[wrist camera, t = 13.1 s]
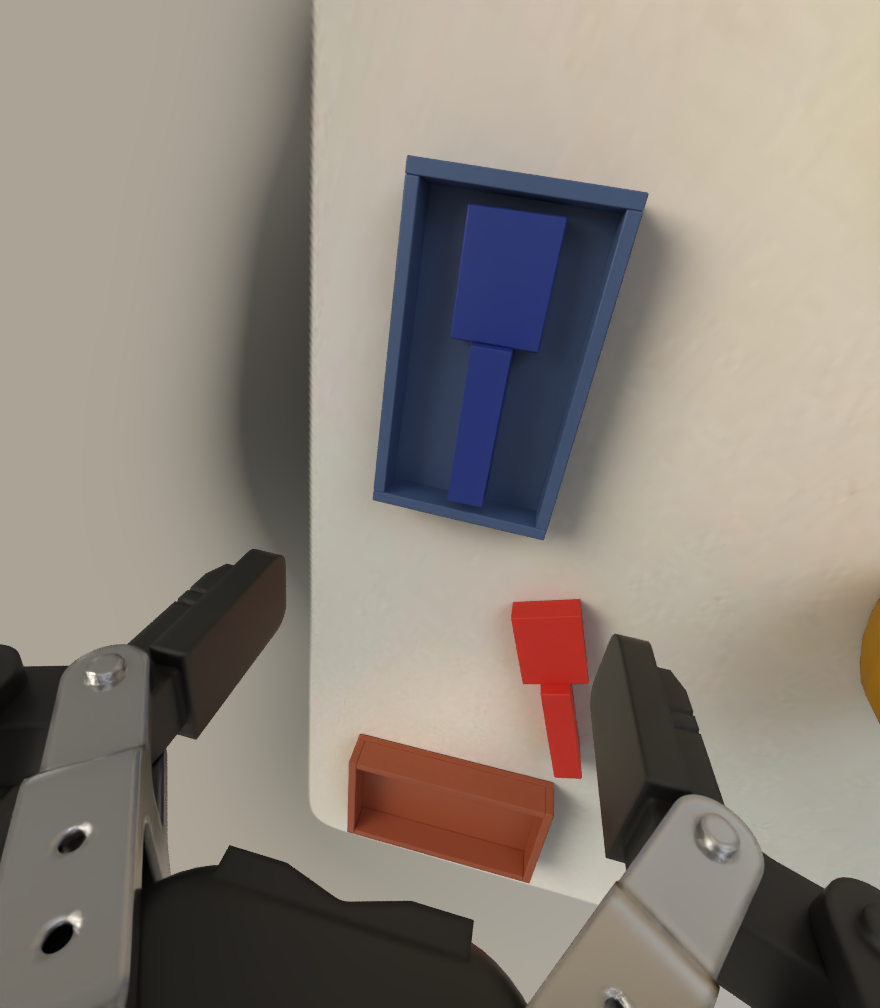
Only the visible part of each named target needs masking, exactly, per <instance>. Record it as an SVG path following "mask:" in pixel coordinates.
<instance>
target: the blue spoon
mask: <svg viewBox="0 0 880 1008" xmlns="http://www.w3.org/2000/svg"><path fill="white" fill-rule="evenodd" d="M567 221H568V218H567V217H564V216H556V215H549V214H542V213H534V212H527V211H520V210H512V209H505V208H498V207H490V206H483V205H476V204H468V207H467V214H466V222H465V229H464V237H463V244H462V252H461V259H460V266H459V274H458V281H457V289H456V296H455V304H454V311H453V318H452V326H451V333H450V338H452V339H458V340H464V341H470V342H474V343H473V344H472V346H471V349H470V356H469V362H468V369H467V375H466V381H465V388H464V394H463V401H462V407H461V414H460V420H459V426H458V433H457V439H456V446H455V452H454V459H453V465H452V472H451V478H450V484H449V491H448V497H447V500H450V501H454V502H459V503H464V504H469V505H473V506H478V507H482V506H483V502H484V498H485V495H486V491H487V487H488V482H489V477H490V472H491V467H492V462H493V457H494V452H495V447H496V442H497V437H498V431H499V426H500V421H501V416H502V411H503V406H504V401H505V396H506V391H507V386H508V381H509V376H510V370H511V365H512V360H513V355H514V350H515V349H516V350H522V351H528V352H534V353H538V352H539V348H540V344H541V339H542V335H543V330H544V326H545V321H546V316H547V312H548V307H549V303H550V298H551V294H552V289H553V285H554V280H555V276H556V271H557V266H558V262H559V257H560V253H561V248H562V244H563V239H564V235H565V230H566V226H567Z"/></svg>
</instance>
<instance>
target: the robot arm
mask: <svg viewBox="0 0 880 1008" xmlns="http://www.w3.org/2000/svg"><path fill="white" fill-rule="evenodd" d="M285 610H286V563H285V558H284V557H283V556H282V555H278V554H274V553H270V552H265V551H261V550H257V549H252V550H250V551H249V552H247V553H246V554H245V555H244V556H243V557H242V558H241V559H240V560H239V561H238V562H237V563H236V564H235V565H230V564H225V565H223V566H221V567H219V568H217V569H215V570H212V571H210V572H208V573H206V574H205V575H204V576H203V577H202V578H200V579H199V580H198V581H197V582H196V583H195V584H194V585H193V586H192V587H191V589H190V590H187V591H186V592H185V593H184V594H183V595H182V596H180V597H179V598H178V601H177V602H174V603H173V604H171V605H170V606H169V607H168V608H167V609H166V610H165V611H164V612H163V613H161V614H160V615H159V616H158V617H157V618H156V619H155V620H154V621H153V622H151V623H150V625H148V626H147V627H146V628H145V629H144V630H143V631H141V632H140V633H139V634H138V635H137V636H136V637H135V638H134V639H133V640H131V641H130V642H129V643H128V644H127V645H126V644H119V645H110V646H106V647H102V648H99V649H96V650H93V651H91V652H89V653H87V654H85V655H83V656H81V657H80V658H78V659H77V660H75V661H74V662H73V663H72V664H71V665H70V666H31V667H30V666H29V667H24V666H23V664H22V661H21V658H20V655H19V653H18V651H17V650H16V649H14V648H12V647H10V646H6V645H0V1008H714V1005H715V1003H716V1000H717V997H718V994H719V989H720V987H719V985H720V986H721V987H723V988H724V989H726V990H727V991H729V992H730V993H732V994H733V995H734V996H736V997H737V998H739V999H740V1000H742V1001H743V1002H745V1003H746V1004H747V1005H749V1006H750V1007H751V1008H880V890H879V889H877V888H875V887H873V886H871V885H870V884H868V883H865V882H863V881H860V880H857V879H853V878H845V877H842V878H837V879H835V880H833V881H832V882H831V883H830V884H829V885H828V886H827V887H826V888H825V889H824V888H822V887H821V886H819V885H817V884H815V883H813V882H812V881H810V880H808V879H806V878H805V877H803V876H801V875H799V874H798V873H796V872H794V871H792V870H790V869H789V868H787V867H785V866H783V865H782V864H780V863H778V862H776V861H775V860H773V859H772V858H770V857H769V856H767V855H766V854H765V853H763V852H762V851H761V848H760V846H759V844H758V842H757V839H756V838H755V836H754V835H753V833H752V832H751V830H750V829H749V828H748V826H747V825H746V824H745V823H744V822H743V821H742V820H741V819H740V818H739V817H738V816H737V815H736V814H735V813H734V812H733V811H731V810H730V809H729V808H727V807H726V806H725V805H724V802H723V799H722V796H721V793H720V790H719V787H718V784H717V781H716V778H715V775H714V772H713V769H712V766H711V763H710V760H709V757H708V754H707V751H706V748H705V745H704V743H703V740H702V737H701V734H699V728H698V725H697V722H696V719H695V716H693V710H692V707H691V704H690V701H689V698H688V695H687V692H686V690H685V689H684V687H683V686H682V685H681V683H680V682H679V681H678V680H677V678H676V677H675V676H674V674H673V673H672V672H671V670H667V669H663V668H659V667H657V664H656V661H655V657H654V654H653V650H652V647H651V644H650V643H649V642H648V641H644V640H640V639H635V638H631V637H627V636H623V635H618V634H614V635H613V636H612V637H611V639H610V641H609V644H608V646H607V649H606V651H605V654H604V656H603V659H602V662H601V664H600V667H599V669H598V672H597V674H596V677H595V680H594V682H593V686H592V691H591V699H590V710H591V720H592V730H593V739H594V749H595V758H596V768H597V778H598V787H599V797H600V807H601V816H602V826H603V836H604V845H605V855H606V858H609V859H612V860H616V861H619V862H623V863H625V865H626V872H625V873H624V875H623V876H622V877H621V879H620V880H619V881H616V882H615V884H614V885H613V886H612V887H611V889H610V890H609V891H608V893H607V894H606V896H605V897H604V898H603V900H602V901H601V903H600V904H599V905H598V907H597V908H596V910H595V911H594V912H593V914H592V915H591V917H590V918H589V919H588V921H587V922H586V924H585V925H584V926H583V928H582V929H581V931H580V932H579V933H578V935H577V936H576V937H575V939H574V940H573V942H572V943H571V944H570V946H569V947H568V949H567V950H566V951H565V953H564V954H563V956H562V957H561V958H560V960H559V961H558V963H557V964H556V965H555V967H554V968H553V970H552V971H551V972H550V974H549V975H548V977H547V978H546V979H545V981H544V982H543V984H542V985H541V986H540V988H539V989H538V991H537V992H536V993H535V995H534V996H533V998H532V999H531V1001H530V1002H529V1003H528V1005H527V1003H526V1002H525V1000H524V998H523V996H522V995H521V993H520V992H519V990H518V989H517V988H516V986H515V985H514V983H513V982H512V981H511V979H510V978H509V977H508V975H507V974H506V973H505V972H504V971H503V970H502V969H501V967H499V965H498V964H497V963H496V962H495V961H494V960H493V959H492V958H491V957H489V956H488V955H487V954H486V953H485V952H484V951H483V950H481V949H480V948H478V947H477V946H476V945H474V944H473V943H471V941H472V932H473V922H474V921H473V920H472V919H468V918H465V917H462V916H459V915H455V914H452V913H449V912H445V911H442V910H439V909H436V908H432V907H429V906H426V905H423V904H419V903H416V902H413V901H370V902H369V901H366V902H365V901H364V902H346V901H342V900H339V899H337V898H335V897H334V896H333V895H331V894H330V893H328V892H327V891H326V890H324V889H323V888H321V887H320V886H319V885H317V884H316V883H314V882H313V881H311V880H310V879H309V878H307V877H306V876H305V875H303V874H302V873H300V872H299V871H298V870H296V869H295V868H293V867H292V866H291V865H289V864H288V863H285V862H283V861H279V860H276V859H273V858H270V857H266V856H263V855H260V854H256V853H253V852H250V851H247V850H243V849H240V848H237V847H234V846H230V845H229V847H228V849H227V851H226V852H225V854H224V856H223V858H222V860H221V861H220V863H219V865H212V866H205V867H199V868H193V869H190V870H186V871H182V872H179V873H176V874H174V875H171V874H170V862H169V854H168V836H167V750H166V748H167V746H168V745H169V744H170V743H171V741H172V740H173V739H174V737H175V736H176V735H177V734H178V735H182V736H185V737H189V738H192V739H197V738H198V737H199V735H200V734H201V732H202V731H203V730H204V729H205V727H206V726H207V725H208V723H209V722H210V720H211V719H212V718H213V716H214V715H215V713H216V712H217V711H218V710H219V708H220V707H221V706H222V704H223V703H224V702H225V700H226V699H227V698H228V696H229V695H230V693H231V692H232V691H233V689H234V688H235V686H236V685H237V684H238V683H239V681H240V680H241V678H242V677H243V676H244V675H245V673H246V672H247V671H248V669H249V668H250V666H251V665H252V664H253V662H254V661H255V660H256V658H257V657H258V656H259V654H260V653H261V652H262V650H263V649H264V648H265V646H266V645H267V643H268V642H269V641H270V639H271V638H272V637H273V635H274V634H275V633H276V631H277V630H278V628H279V627H280V625H281V623H282V620H283V617H284V614H285Z"/></svg>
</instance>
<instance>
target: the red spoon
mask: <svg viewBox="0 0 880 1008" xmlns="http://www.w3.org/2000/svg"><path fill="white" fill-rule="evenodd" d="M511 621H512V626H513V632H514V637H515V643H516V648H517V654H518V659H519V665H520V670H521V676H522V681H523V684H541V700H542V706H543V712H544V718H545V724H546V730H547V736H548V742H549V748H550V754H551V760H552V766H553V772H554V777H556V778H576V779H581V778H582V772H581V756H580V744H579V736H578V729H577V721H576V713H575V705H574V698H573V690H572V684H589V679H588V668H587V659H586V650H585V641H584V631H583V622H582V613H581V604H580V599H573V600H552V601H530V602H513V606H512V615H511Z"/></svg>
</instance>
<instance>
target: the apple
mask: <svg viewBox="0 0 880 1008" xmlns="http://www.w3.org/2000/svg"><path fill="white" fill-rule="evenodd" d="M860 673H861V683H862V686H863V688H864V691H865V693H866V696H867V699H868V701H869V703H870V705H871V707H872V709H873V711H874V713H875V715H876V717H877V719H878V721H879V723H880V598H879V600H878V602H877V603H876V605H875V607H874V609H873V611H872V613H871V616H870V618H869V621H868V624H867V627H866V629H865V632H864V635H863V638H862V647H861V657H860Z"/></svg>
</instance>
